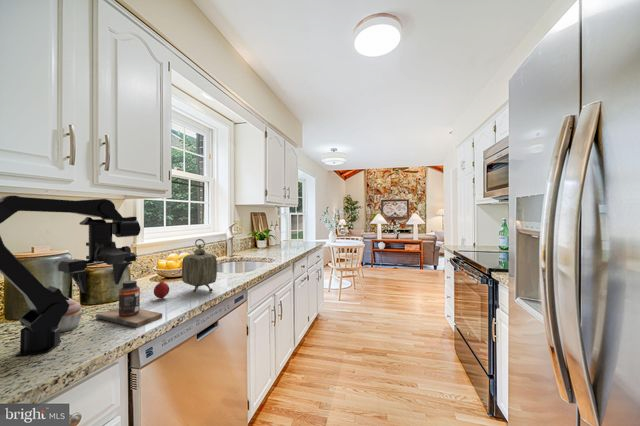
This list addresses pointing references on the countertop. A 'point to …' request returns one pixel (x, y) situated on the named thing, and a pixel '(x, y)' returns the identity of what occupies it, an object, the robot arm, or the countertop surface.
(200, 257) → the tabletop clock
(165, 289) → the onion
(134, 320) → the brown wooden board
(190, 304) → the countertop surface
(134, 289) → the supplement bottle
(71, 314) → the cupcake
